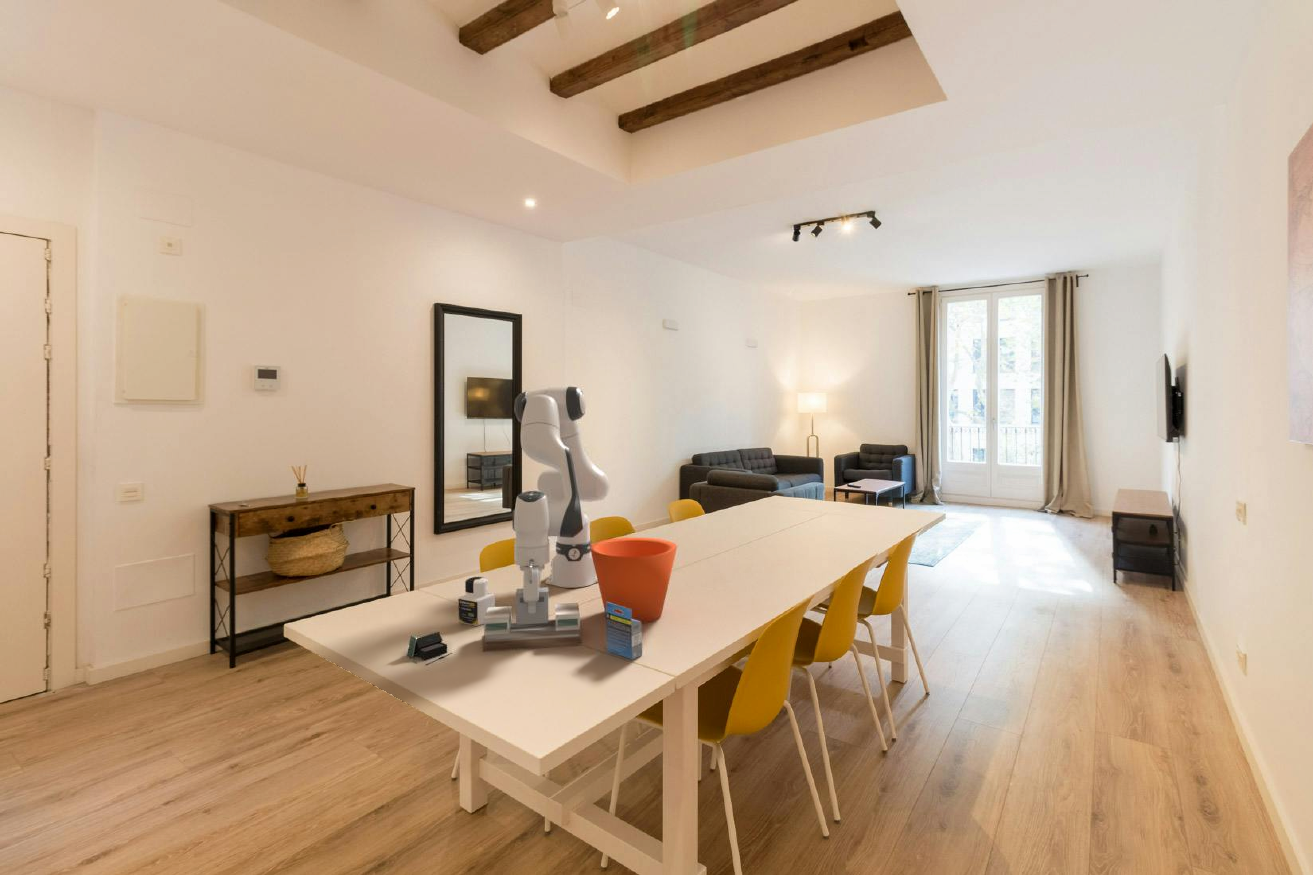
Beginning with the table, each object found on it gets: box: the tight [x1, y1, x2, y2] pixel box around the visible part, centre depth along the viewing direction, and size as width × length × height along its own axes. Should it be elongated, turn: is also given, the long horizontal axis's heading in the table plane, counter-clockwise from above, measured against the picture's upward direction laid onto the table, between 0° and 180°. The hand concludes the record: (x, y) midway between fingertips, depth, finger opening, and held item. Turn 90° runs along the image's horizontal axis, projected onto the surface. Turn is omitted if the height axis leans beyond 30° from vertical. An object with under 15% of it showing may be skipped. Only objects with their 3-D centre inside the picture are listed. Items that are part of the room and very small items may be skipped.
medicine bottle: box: [457, 576, 496, 627], centre depth 173 cm, size 7×7×12 cm
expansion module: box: [515, 587, 549, 625], centre depth 158 cm, size 4×8×8 cm, turn 99°
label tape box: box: [605, 602, 643, 661], centre depth 150 cm, size 9×4×12 cm, turn 49°
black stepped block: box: [406, 631, 453, 666], centre depth 150 cm, size 15×15×6 cm
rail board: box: [481, 602, 582, 652], centre depth 159 cm, size 12×24×8 cm, turn 99°
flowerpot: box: [590, 536, 678, 624], centre depth 178 cm, size 25×25×20 cm
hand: (532, 609), depth 159 cm, fingers closed on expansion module, 4 cm apart
